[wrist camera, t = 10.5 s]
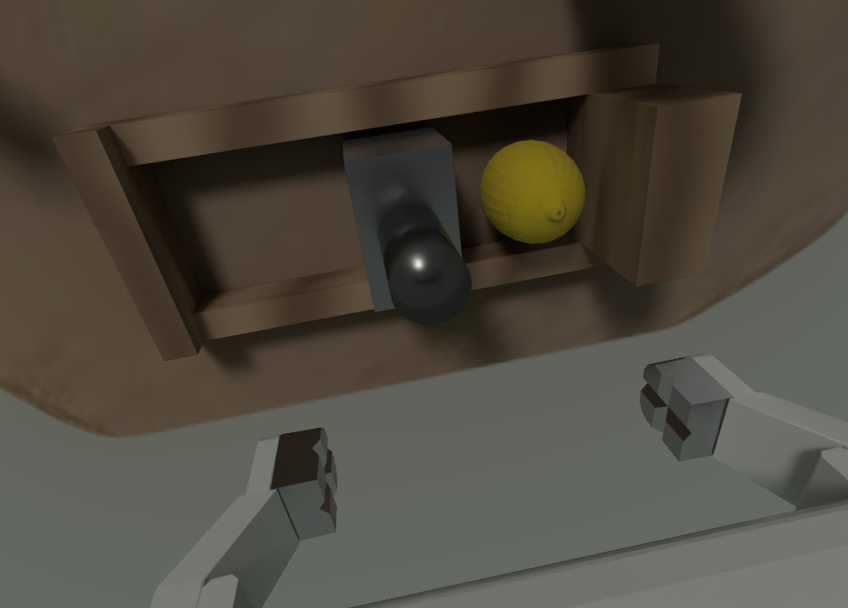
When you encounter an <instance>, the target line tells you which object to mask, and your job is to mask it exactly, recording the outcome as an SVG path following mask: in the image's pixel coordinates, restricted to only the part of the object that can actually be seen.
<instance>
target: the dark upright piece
mask: <svg viewBox="0 0 848 608" xmlns="http://www.w3.org/2000/svg"><path fill="white" fill-rule="evenodd" d="M342 142H343V158H344V165H345V170H346V175H347V180H348V185H349V190H350V194H351V199H352V204H353V209H354V214H355V219H356V224H357V228H358V233H359V238H360V243H361V248H362V253H363V258H364V262H365V267H366V272H367V277H368V282H369V287H370V292H371V296H372V301H373V306H374V311H375V312H379V311H384V310H389V309H395V308H396V310H397V311H398V312H399V313H400V314H401V315H402V316H403V317H405V318H406V319H408V320H410V321H412V322H415V323H419V324H436V323H440V322H443V321H446V320H448V319H450V318H452V317H453V316H455V315H456V314H457V313H458V312H459V311H460V310H461V309H462V308H463V307H464V306H465V304H466V303H467V301H468V299H469V296H470V293H471V288H472V280H471V275H470V272H469V270H468V268H467V266H466V264H465V263H464V261H463V259H462V253H461V242H460V231H459V219H458V208H457V197H456V186H455V175H454V163H453V152H452V144H451V143H450V142H449V141H448V140H446V139H445V138H444V137H443V136H442V135H440V134H439V133H438V132H437V131H436V130H435V129H433V128H432V127H431V126H430V125H429V124H427V123H421V124H414V125H408V126H402V127H395V128H389V129H383V130H376V131H370V132H364V133H357V134H351V135H345V136H342Z"/></svg>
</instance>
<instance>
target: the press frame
mask: <svg viewBox="0 0 848 608" xmlns="http://www.w3.org/2000/svg"><path fill="white" fill-rule="evenodd" d="M659 48H660V43H641V44H628V45H622V46H615V47H608V48H602V49H595V50H588V51H582V52H575V53H568V54H561V55H555V56H548V57H541V58H535V59H528V60H521V61H515V62H508V63H501V64H494V65H488V66H481V67H474V68H468V69H461V70H454V71H448V72H441V73H434V74H427V75H421V76H414V77H407V78H401V79H394V80H387V81H380V82H374V83H367V84H360V85H354V86H347V87H340V88H334V89H327V90H320V91H313V92H307V93H300V94H293V95H287V96H280V97H273V98H267V99H260V100H253V101H246V102H240V103H233V104H226V105H220V106H213V107H206V108H200V109H193V110H186V111H179V112H173V113H166V114H159V115H153V116H146V117H139V118H133V119H126V120H119V121H112V122H106V123H99V124H92V125H88V126H85V127H82V128H79V129H76V130H72V131H69V132H66V133H63V134H60V135H56V136H53V137H51V138H52V140H53V142H54V144H55V146H56V148H57V150H58V152H59V154H60V156H61V158H62V160H63V162H64V164H65V166H66V168H67V170H68V172H69V174H70V176H71V178H72V180H73V182H74V184H75V186H76V188H77V190H78V192H79V194H80V196H81V198H82V200H83V202H84V204H85V206H86V208H87V210H88V212H89V213H90V215H91V217H92V219H93V221H94V223H95V225H96V227H97V229H98V231H99V233H100V235H101V237H102V239H103V241H104V243H105V245H106V247H107V249H108V251H109V253H110V255H111V257H112V259H113V261H114V263H115V265H116V267H117V269H118V271H119V273H120V275H121V277H122V279H123V281H124V283H125V285H126V287H127V289H128V291H129V293H130V295H131V297H132V299H133V301H134V303H135V305H136V307H137V309H138V311H139V312H140V314H141V316H142V318H143V320H144V322H145V324H146V326H147V328H148V330H149V332H150V334H151V336H152V338H153V340H154V342H155V344H156V346H157V348H158V350H159V352H160V354H161V356H162V358H163V360H164V361H167V360H173V359H178V358H183V357H188V356H193V355H198V353H199V351H200V349H201V347H202V344H203V342H204V341H207V340H212V339H218V338H223V337H228V336H234V335H239V334H244V333H249V332H255V331H260V330H265V329H270V328H276V327H281V326H286V325H292V324H297V323H302V322H307V321H313V320H318V319H323V318H329V317H334V316H339V315H344V314H350V313H355V312H360V311H365V310H371V309H374V306H373V301H372V296H371V292H370V287H369V282H368V277H367V272H366V267H365V266H362V267H357V268H351V269H346V270H340V271H335V272H329V273H324V274H318V275H313V276H307V277H302V278H296V279H291V280H285V281H280V282H274V283H269V284H263V285H258V286H252V287H247V288H241V289H236V290H230V291H225V292H219V293H214V294H208V295H203V296H202V293H201V291H200V288H199V286H198V283H197V281H196V279H195V276H194V274H193V271H192V269H191V267H190V264H189V262H188V259H187V257H186V255H185V252H184V250H183V247H182V245H181V243H180V240H179V238H178V235H177V233H176V231H175V228H174V226H173V223H172V221H171V219H170V216H169V214H168V211H167V209H166V207H165V204H164V202H163V199H162V197H161V195H160V192H159V190H158V187H157V185H156V183H155V180H154V178H153V175H152V173H151V171H150V168H149V166H148V163H153V162H159V161H166V160H172V159H178V158H185V157H191V156H198V155H204V154H210V153H217V152H223V151H229V150H236V149H242V148H248V147H255V146H261V145H267V144H274V143H280V142H287V141H293V140H299V139H306V138H312V137H318V136H325V135H331V134H337V133H344V132H350V131H356V130H363V129H369V128H376V127H382V126H388V125H395V124H401V123H407V122H414V121H420V120H426V119H433V118H439V117H445V116H452V115H458V114H465V113H471V112H477V111H484V110H490V109H496V108H503V107H509V106H515V105H522V104H528V103H534V102H541V101H547V100H554V99H560V98H566V97H569V103H568V135H567V155H568V156H569V157H570V158H572V160H573V161H574V162H575V164H576V165H577V167H578V169H579V170H580V172H581V174H582V176H583V180H584V184H585V203H584V207H583V210H582V212H581V214H580V216H579V218H578V220H577V222H576V223H575V224H574V225H573V227H572V228H571V229H570V230H569V231H567V232H566V233H565V234H564V235H562V236H560V237H558V238H557V239H555V240H552V241H549V242H545V243H534V244H530V243H525V242H520V241H517V240H514V239H511V240H505V241H500V242H494V243H489V244H483V245H478V246H472V247H467V248H461V253H462V259H463V261H464V263H465V264H466V266H467V268H468V270H469V272H470V275H471V280H472V288H471V290H476V289H482V288H487V287H492V286H497V285H503V284H508V283H513V282H519V281H524V280H529V279H534V278H540V277H545V276H550V275H555V274H561V273H566V272H571V271H577V270H582V269H587V268H592V267H598V266H603V265H609V266H610V267H612V268H613V269H614V270H615V271H617V272H618V273H619V274H620V275H622V276H623V277H624V278H625V279H627V280H628V281H629V282H630V283H632V284H633V285H634V286H635V287H638V286H643V285H649V284H654V283H659V282H664V281H669V280H674V279H679V278H685V277H690V276H695V275H700V274H705V273H706V268H707V263H708V258H709V253H710V248H711V243H712V239H713V234H714V229H715V224H716V219H717V214H718V209H719V204H720V199H721V194H722V190H723V185H724V180H725V175H726V170H727V165H728V160H729V155H730V150H731V145H732V140H733V136H734V131H735V126H736V121H737V116H738V111H739V106H740V101H741V96H742V93H735V92H726V91H717V90H708V89H700V88H691V87H682V86H673V85H664V84H655V82H656V74H657V65H658V56H659Z"/></svg>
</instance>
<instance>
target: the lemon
mask: <svg viewBox="0 0 848 608" xmlns="http://www.w3.org/2000/svg"><path fill="white" fill-rule="evenodd" d="M480 199H481V203H482V207H483V210H484V212H485V214H486V216H487V217H488V219H489V221H490V222H491V223H492V224H493V225H494V226H495V227H496V228H497V229H498V230H499V231H500V232H501V233H503V234H504V235H506V236H508V237H510V238H512V239H514V240H517V241H520V242H525V243H530V244H534V243H545V242H549V241H552V240H555V239H557V238H558V237H560V236H562V235H564V234H565V233H566V232H567V231H569V230H570V229H571V228H572V227H573V225H574V224H575V223H576V222H577V220H578V218H579V216H580V214H581V212H582V210H583V207H584V203H585V184H584V180H583V176H582V174H581V172H580V170H579V169H578V167H577V165H576V164H575V162H574V161H573V160H572V158H570V157H569V156H568V155H567V154H566V153H565V152H564V151H563V150H561V149H560V148H558V147H556V146H554V145H552V144H549V143H547V142H543V141H536V140H526V141H519V142H515V143H513V144H510V145H508V146H506V147H504V148H503V149H501V150H500V151H499V152H497V153H496V154H495V155H494V156H493V157H492V159H491V160H490V161H489V162H488V164H487V166H486V168H485V170H484V171H483V174H482V178H481V181H480Z"/></svg>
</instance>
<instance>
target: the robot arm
mask: <svg viewBox="0 0 848 608" xmlns="http://www.w3.org/2000/svg"><path fill="white" fill-rule="evenodd" d="M643 378H644V379H645V380H646V381H647V384H646V386H645V387H644V388H643V389H642V390H641V394H640V404H641V409H642V412H643V414H644V416H645V418H646V420H647V421H648V423H649V424H650V425H651V427H653V428H655V429H657V430H659V431H661V432H663V439H662V440H663V442H664V443H665V444H666V446H667V447H668V448H669V449H670V451H671V452H672V453H673V454H674V456H675V457H676V458H677V459H678V461H683V460H688V459H694V458H700V457H705V456H711V455H713V457H714V458H715V459H717V460H719V461H721V462H722V463H724V464H726V465H727V466H729V467H731V468H732V469H734V470H736V471H737V472H739V473H741V474H743V475H744V476H746V477H748V478H749V479H751V480H752V481H754V482H756V483H758V484H759V485H761V486H763V487H764V488H766V489H768V490H769V491H771V492H773V493H774V494H776V495H778V496H779V497H781V498H783V499H784V500H786V501H788V502H790V503H791V504H793V505H795V506H796V509H795V511H792V512H787V513H782V514H778V515H773V516H769V517H764V518H759V519H755V520H751V521H746V522H741V523H736V524H732V525H728V526H723V527H718V528H713V529H709V530H704V531H700V532H695V533H691V534H686V535H681V536H677V537H672V538H668V539H663V540H659V541H655V542H650V543H645V544H640V545H636V546H631V547H627V548H622V549H618V550H613V551H608V552H604V553H599V554H595V555H590V556H586V557H581V558H576V559H571V560H567V561H562V562H558V563H553V564H548V565H544V566H539V567H535V568H530V569H525V570H521V571H516V572H511V573H507V574H502V575H498V576H493V577H488V578H484V579H479V580H474V581H470V582H465V583H461V584H456V585H451V586H447V587H442V588H438V589H433V590H429V591H424V592H419V593H415V594H410V595H406V596H401V597H396V598H392V599H387V600H382V601H378V602H373V603H369V604H364V605H359V606H355V607H350V608H848V423H846V422H844V421H841V420H838V419H835V418H833V417H830V416H827V415H824V414H821V413H819V412H816V411H813V410H810V409H808V408H805V407H802V406H799V405H796V404H794V403H791V402H788V401H785V400H783V399H780V398H777V397H774V396H771V395H768V394H766V393H763V392H761V393H755V392H754V391H753V390H752V389H751V388H749V387H748V386H747V385H746V384H745V383H744V382H742V381H741V380H740V379H739V378H738V377H737V376H735V375H734V374H733V373H732V372H731V371H730V370H728V369H727V368H726V367H725V366H724V365H723V364H721V363H720V362H719V361H718V360H717V359H716V358H714V357H713V356H712V355H710V354H708V353H701V354H697V355H692V356H687V357H685V358H684V357H683V358H678V359H673V360H668V361H663V362H658V363H653V364H648V365H647V366H646V368H645V369H644V374H643ZM327 443H328V438H327V435H326V432H325V429H324V428H316V429H310V430H304V431H298V432H292V433H286V434H282V435H278V436H271V437H265V438H261V439H260V440H259V442H258V443H257V446H256V451H255V455H254V459H253V464H252V468H251V472H250V476H249V481H248V485H247V490H246V494H245V495H244V496H239V497H238V498H237V499H236V500H235V502H234V503H233V504H232V505H231V506H230V507H229V508H228V509H227V510H226V512H225V513H224V514H223V515H222V516H221V517H220V518H219V519H218V520H217V522H216V523H215V524H214V525H213V526H212V527H211V528H210V529H209V530H208V532H207V533H206V534H205V535H204V536H203V537H202V538H201V539H200V540H199V542H198V543H197V544H196V545H195V546H194V547H193V548H192V549H191V551H190V552H189V553H188V554H187V555H186V556H185V557H184V558H183V559H182V561H181V562H180V563H179V564H178V565H177V566H176V567H175V568H174V569H173V571H172V572H171V573H170V574H169V575H168V576H167V577H166V578H165V580H164V581H163V582H162V583H161V584H160V585H159V586H158V588H157V589H156V592H155V595H154V597H153V601H152V603H151V606H150V608H262V606H263V605H264V603H265V601H266V600H267V598H268V596H269V595H270V593H271V591H272V590H273V588H274V586H275V584H276V583H277V581H278V579H279V578H280V576H281V574H282V572H283V571H284V569H285V567H286V565H287V564H288V562H289V561H290V559H291V557H292V555H293V554H294V552H295V550H296V548H297V547H298V545H299V541H301V540H305V539H309V538H313V537H317V536H322V535H326V534H330V533H334V532H336V512H337V506H336V503H335V500H334V497H333V495H334V494H335V493H336V491H337V473H336V465H335V461H334V456H333V453H332V451H330V450H329V449H327V446H328V444H327Z"/></svg>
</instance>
